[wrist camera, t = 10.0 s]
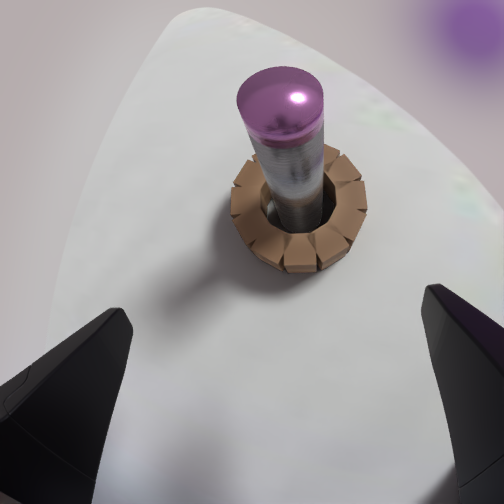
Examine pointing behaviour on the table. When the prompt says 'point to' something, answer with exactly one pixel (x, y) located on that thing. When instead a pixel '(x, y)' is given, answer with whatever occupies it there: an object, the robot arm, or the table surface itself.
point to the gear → (302, 244)
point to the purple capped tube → (288, 140)
